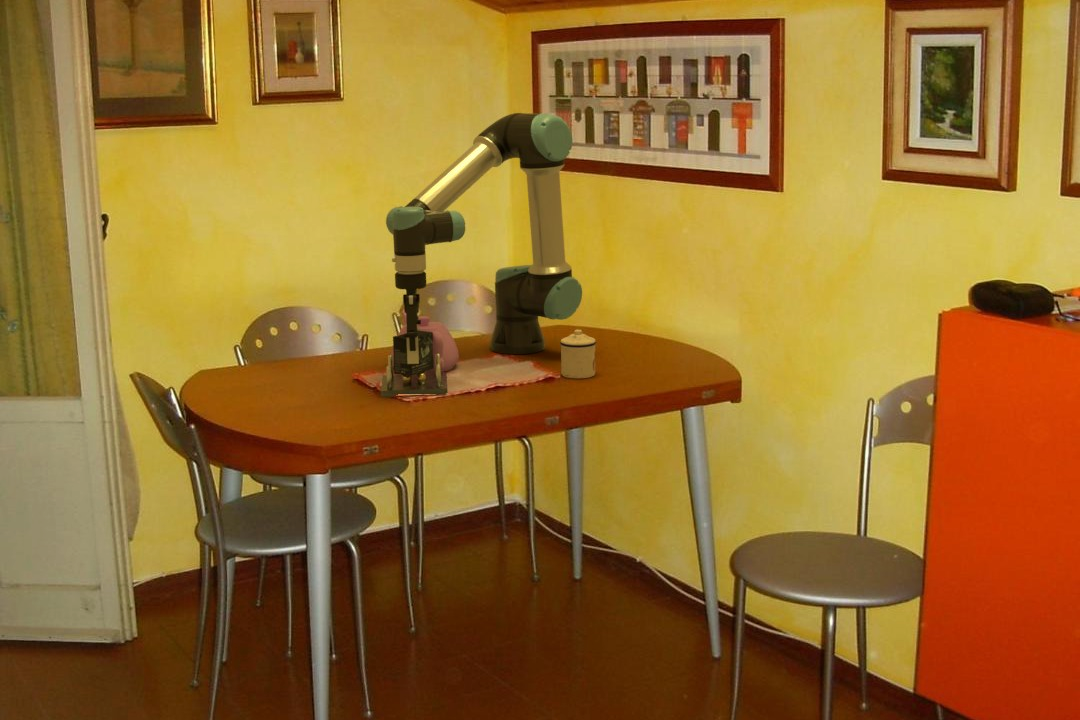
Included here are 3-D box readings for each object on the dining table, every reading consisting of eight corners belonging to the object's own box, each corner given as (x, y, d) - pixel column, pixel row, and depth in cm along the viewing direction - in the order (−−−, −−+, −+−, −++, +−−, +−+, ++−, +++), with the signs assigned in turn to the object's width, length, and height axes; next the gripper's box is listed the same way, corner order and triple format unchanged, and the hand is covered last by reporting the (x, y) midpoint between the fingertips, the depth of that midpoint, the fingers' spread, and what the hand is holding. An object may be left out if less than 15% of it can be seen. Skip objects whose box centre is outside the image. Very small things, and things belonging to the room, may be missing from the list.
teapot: (474, 372, 342) (473, 320, 339) (411, 381, 333) (408, 328, 330) (434, 354, 363) (433, 305, 360) (374, 362, 355) (372, 311, 352)
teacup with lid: (601, 377, 335) (601, 332, 332) (568, 380, 332) (567, 335, 329) (583, 366, 346) (583, 323, 343) (551, 370, 342) (550, 326, 340)
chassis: (383, 380, 334) (382, 353, 332) (446, 378, 335) (446, 351, 334) (380, 397, 318) (379, 368, 317) (447, 394, 320) (446, 366, 318)
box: (411, 377, 321) (409, 338, 319) (393, 374, 324) (391, 336, 322) (434, 369, 328) (433, 331, 326) (417, 366, 331) (415, 329, 329)
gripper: (396, 263, 332) (399, 346, 337) (393, 280, 308) (396, 369, 313) (426, 263, 333) (429, 345, 337) (425, 279, 308) (428, 368, 313)
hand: (413, 357), depth 325 cm, fingers open, 13 cm apart
